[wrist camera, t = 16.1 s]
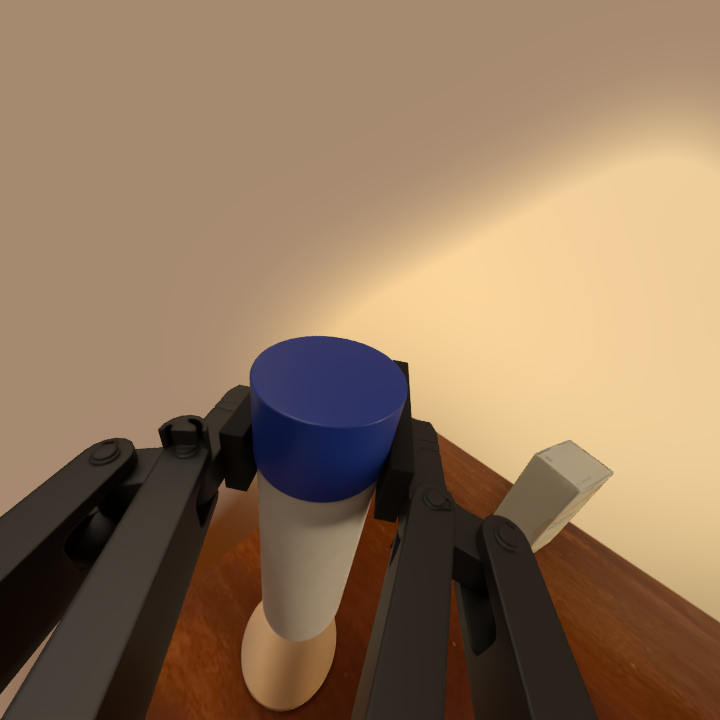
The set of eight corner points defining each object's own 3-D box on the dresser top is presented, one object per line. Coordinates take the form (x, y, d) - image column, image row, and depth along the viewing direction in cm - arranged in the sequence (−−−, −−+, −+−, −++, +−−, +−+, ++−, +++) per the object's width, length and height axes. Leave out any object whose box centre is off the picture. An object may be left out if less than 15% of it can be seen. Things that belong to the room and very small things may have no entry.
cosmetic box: (514, 565, 29) (581, 495, 23) (482, 524, 32) (533, 452, 26) (550, 542, 32) (618, 473, 26) (517, 506, 35) (570, 438, 29)
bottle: (263, 661, 13) (253, 441, 6) (257, 557, 17) (247, 336, 9) (354, 623, 15) (438, 413, 7) (331, 535, 19) (373, 334, 11)
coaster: (241, 736, 18) (241, 734, 17) (240, 602, 23) (240, 599, 23) (346, 682, 20) (348, 680, 20) (323, 573, 26) (324, 570, 25)
